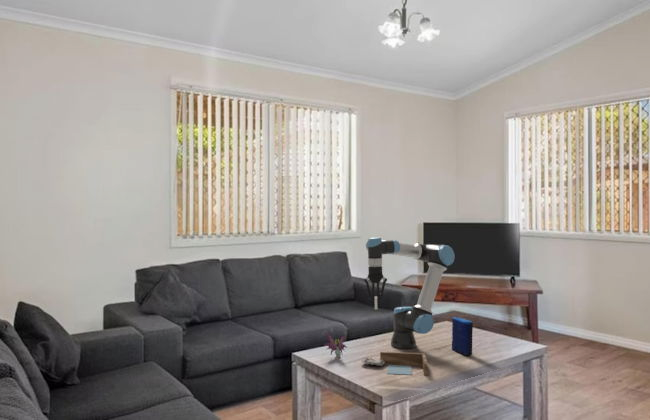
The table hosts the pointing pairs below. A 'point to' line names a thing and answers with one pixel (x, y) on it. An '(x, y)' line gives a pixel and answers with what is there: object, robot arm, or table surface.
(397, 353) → the corner walls
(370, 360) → the stone
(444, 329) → the table surface
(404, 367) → the mat
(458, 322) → the book
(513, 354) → the table surface
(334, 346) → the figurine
